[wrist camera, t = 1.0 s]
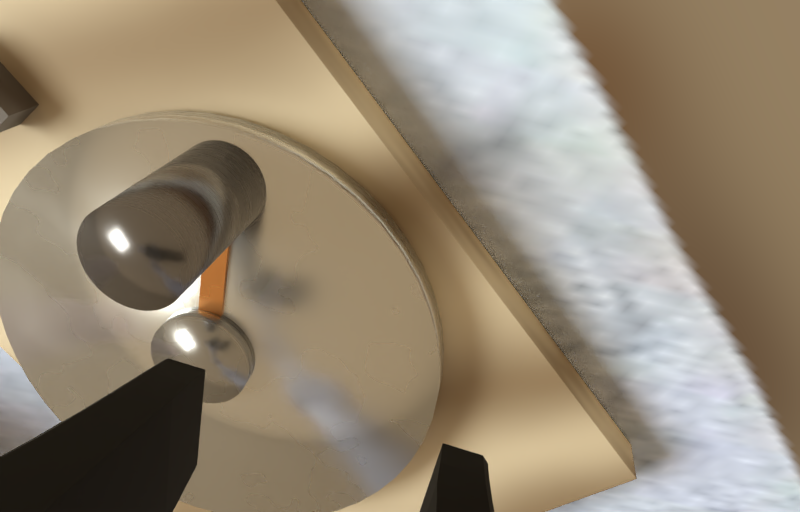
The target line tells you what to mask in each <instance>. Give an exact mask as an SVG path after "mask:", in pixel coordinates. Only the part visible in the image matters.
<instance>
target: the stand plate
mask: <svg viewBox="0 0 800 512" xmlns="http://www.w3.org/2000/svg"><path fill="white" fill-rule="evenodd" d="M176 110H180V111H194V112H207V113H214V114H219V115H223V116H228V117H233V118H238V119H242V120H246V121H249V122H252V123H254V124H257V125H260V126H263V127H266V128H269V129H272V130H275V131H277V132H279V133H281V134H283V135H285V136H287V137H289V138H291V139H293V140H295V141H298V142H300V143H302V144H304V145H306V146H308V147H309V148H311V149H312V150H314V151H316V152H317V153H319V154H320V155H322V156H323V157H325V158H326V159H328V160H329V161H331V162H333V163H334V164H336V165H337V166H338V167H340V168H341V169H342V170H343V171H345V172H346V173H347V174H348V175H349V176H351V177H352V178H353V179H354V180H355V181H357V182H358V183H359V184H360V185H361V186H363V187H364V188H365V189H366V190H367V191H368V192H369V193H370V194H371V195H372V196H373V197H374V198H375V199H376V201H377V202H378V203H379V204H380V205H381V206H382V207H383V208H384V209H385V210H386V211H387V212H388V213H389V215H390V216H391V217H392V219H393V220H394V221H395V223H396V224H397V225H398V227H399V228H400V229H401V231H402V232H403V233H404V235H405V236H406V237H407V239H408V240H409V242H410V244H411V245H412V247H413V249H414V251H415V253H416V254H417V256H418V258H419V260H420V261H421V263H422V265H423V267H424V269H425V272H426V274H427V276H428V279H429V281H430V284H431V286H432V289H433V291H434V294H435V297H436V301H437V305H438V309H439V313H440V317H441V321H442V330H443V341H444V362H443V375H442V380H441V384H440V389H439V393H438V397H437V402H436V406H435V411H434V415H433V419H432V422H431V424H430V427H429V429H428V431H427V434H426V436H425V439H424V441H423V443H422V444H421V446H420V447H419V449H418V450H417V452H416V454H415V455H414V457H413V458H412V460H411V461H410V462H409V463H408V464H407V465H406V467H405V468H404V469H403V470H402V471H401V472H400V473H399V474H398V475H397V477H395V478H394V479H393V480H392V481H390V482H389V483H388V484H387V485H385V486H384V487H383V488H382V489H380V490H379V491H378V492H376V493H374V494H372V495H371V496H369V497H367V498H365V499H364V500H362V501H360V502H358V503H355V504H353V505H350V506H348V507H345V508H343V509H340V510H338V511H334V512H420V509H421V506H422V503H423V500H424V497H425V494H426V491H427V488H428V485H429V482H430V479H431V476H432V473H433V470H434V467H435V464H436V461H437V458H438V456H439V453H440V450H441V447H442V444H443V443H444V444H448V445H451V446H454V447H457V448H461V449H464V450H467V451H470V452H474V453H477V454H480V455H483V456H484V458H485V459H486V461H487V463H488V471H489V480H490V487H491V494H492V501H493V507H494V512H545V511H548V510H551V509H554V508H556V507H559V506H562V505H565V504H568V503H570V502H573V501H576V500H579V499H582V498H584V497H587V496H590V495H593V494H595V493H598V492H601V491H604V490H607V489H609V488H612V487H615V486H618V485H621V484H623V483H626V482H629V481H632V480H634V479H636V473H635V467H634V461H633V454H632V448H631V444H630V443H629V441H628V440H627V439H626V437H625V436H624V435H623V433H622V432H621V431H620V429H619V428H618V427H617V425H616V424H615V423H614V421H613V420H612V419H611V417H610V416H609V415H608V413H607V412H606V411H605V409H604V408H603V406H602V405H601V404H600V402H599V401H598V400H597V398H596V397H595V396H594V394H593V393H592V392H591V390H590V389H589V388H588V386H587V385H586V384H585V382H584V381H583V380H582V378H581V377H580V376H579V374H578V373H577V371H576V370H575V369H574V367H573V366H572V365H571V363H570V362H569V361H568V359H567V358H566V357H565V355H564V354H563V353H562V351H561V350H560V349H559V347H558V346H557V345H556V343H555V342H554V341H553V339H552V338H551V336H550V335H549V334H548V332H547V331H546V330H545V328H544V327H543V326H542V324H541V323H540V322H539V320H538V319H537V318H536V316H535V315H534V314H533V312H532V311H531V310H530V308H529V307H528V306H527V304H526V303H525V301H524V300H523V299H522V297H521V296H520V295H519V293H518V292H517V291H516V289H515V288H514V287H513V285H512V284H511V283H510V281H509V280H508V279H507V277H506V276H505V275H504V273H503V272H502V271H501V269H500V268H499V266H498V265H497V264H496V262H495V261H494V260H493V258H492V257H491V256H490V254H489V253H488V252H487V250H486V249H485V248H484V246H483V245H482V244H481V242H480V241H479V240H478V238H477V237H476V236H475V234H474V233H473V231H472V230H471V229H470V227H469V226H468V225H467V223H466V222H465V221H464V219H463V218H462V217H461V215H460V214H459V213H458V211H457V210H456V209H455V207H454V206H453V205H452V203H451V202H450V201H449V199H448V198H447V196H446V195H445V194H444V192H443V191H442V190H441V188H440V187H439V186H438V184H437V183H436V182H435V180H434V179H433V178H432V176H431V175H430V174H429V172H428V171H427V170H426V168H425V167H424V166H423V164H422V163H421V161H420V160H419V159H418V157H417V156H416V155H415V153H414V152H413V151H412V149H411V148H410V147H409V145H408V144H407V143H406V141H405V140H404V139H403V137H402V136H401V135H400V133H399V132H398V131H397V129H396V128H395V126H394V125H393V124H392V122H391V121H390V120H389V118H388V117H387V116H386V114H385V113H384V112H383V110H382V109H381V108H380V106H379V105H378V104H377V102H376V101H375V100H374V98H373V97H372V96H371V94H370V93H369V91H368V90H367V89H366V87H365V86H364V85H363V83H362V82H361V81H360V79H359V78H358V77H357V75H356V74H355V73H354V71H353V70H352V69H351V67H350V66H349V65H348V63H347V62H346V61H345V59H344V58H343V56H342V55H341V54H340V52H339V51H338V50H337V48H336V47H335V46H334V44H333V43H332V42H331V40H330V39H329V38H328V36H327V35H326V34H325V32H324V31H323V30H322V28H321V27H320V26H319V24H318V23H317V21H316V20H315V19H314V17H313V16H312V15H311V13H310V12H309V11H308V9H307V8H306V7H305V5H304V4H303V3H302V1H301V0H0V222H1V218H2V215H3V212H4V210H5V208H6V206H7V204H8V202H9V200H10V198H11V196H12V194H13V192H14V190H15V189H16V188H17V186H18V185H19V184H20V182H21V181H22V180H23V178H24V177H25V176H26V174H27V173H28V172H29V171H30V170H31V169H32V168H33V167H34V166H35V165H36V164H37V163H38V162H40V161H41V160H42V159H43V158H44V157H45V156H46V155H47V154H48V153H50V152H52V151H53V150H55V149H57V148H58V147H60V146H61V145H63V144H65V143H66V142H68V141H69V140H71V139H73V138H75V137H78V136H80V135H82V134H84V133H86V132H88V131H90V130H93V129H95V128H97V127H100V126H102V125H105V124H107V123H110V122H112V121H115V120H117V119H120V118H125V117H129V116H134V115H138V114H143V113H147V112H161V111H176ZM0 347H1V348H3V349H4V350H5V351H6V352H7V353H8V354H9V355H10V356H11V357H12V358H13V359H14V360H15V361H16V362H17V363H18V364H19V365H20V363H19V361H18V360H17V358H16V356H15V353H14V351H13V349H12V347H11V344H10V342H9V340H8V337H7V335H6V332H5V329H4V326H3V323H2V319H1V316H0ZM20 366H21V365H20ZM173 512H213V511H209V510H206V509H202V508H198V507H195V506H192V505H189V504H187V503H184V502H181V501H178V503H177V505H176V507H175V508H174V510H173Z"/></svg>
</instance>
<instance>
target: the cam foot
mask: <svg viewBox="0 0 800 512" xmlns="http://www.w3.org/2000/svg"><path fill="white" fill-rule="evenodd" d="M0 316H1V319H2V323H3V326H4V329H5V332H6V335H7V337H8V340H9V342H10V344H11V347H12V349H13V351H14V353H15V356H16V358H17V360H18V361H19V363H20V365H21V367H22V368H23V370H24V372H25V374H26V375H27V377H28V379H29V381H30V382H31V384H32V385H33V386H34V388H35V389H36V391H37V392H38V393H39V395H40V396H41V398H42V399H43V400H44V402H45V403H46V404H47V405H48V407H49V408H50V409H51V410H52V411H53V412H54V414H55V415H56V416H57V417H58V418H59V419H60V421H61V422H63V421H64V420H66V419H68V418H69V417H71V416H73V415H75V414H76V413H78V412H80V411H81V410H83V409H85V408H86V407H88V406H90V405H91V404H93V403H95V402H96V401H98V400H99V399H101V398H103V397H104V396H106V395H108V394H109V393H111V392H113V391H114V390H116V389H117V388H119V387H121V386H122V385H124V384H125V383H127V382H129V381H130V380H132V379H134V378H135V377H137V376H138V375H140V374H142V373H143V372H145V371H146V370H148V369H150V368H151V367H153V366H155V365H156V364H158V363H160V362H161V361H163V360H165V359H167V358H169V359H172V360H176V361H179V362H182V363H185V364H189V365H192V366H195V367H198V368H202V369H205V381H204V392H203V404H202V415H201V426H200V438H199V449H198V460H197V466H196V468H195V470H194V472H193V474H192V476H191V478H190V480H189V482H188V484H187V486H186V487H185V489H184V491H183V493H182V495H181V497H180V499H179V501H181V502H184V503H187V504H189V505H192V506H195V507H198V508H202V509H206V510H209V511H213V512H334V511H338V510H340V509H343V508H345V507H348V506H350V505H353V504H355V503H358V502H360V501H362V500H364V499H365V498H367V497H369V496H371V495H372V494H374V493H376V492H378V491H379V490H380V489H382V488H383V487H384V486H385V485H387V484H388V483H389V482H390V481H392V480H393V479H394V478H395V477H397V475H398V474H399V473H400V472H401V471H402V470H403V469H404V468H405V467H406V465H407V464H408V463H409V462H410V461H411V460H412V458H413V457H414V455H415V454H416V452H417V450H418V449H419V447H420V446H421V444H422V443H423V441H424V439H425V436H426V434H427V431H428V429H429V427H430V424H431V422H432V419H433V415H434V411H435V406H436V402H437V397H438V393H439V389H440V384H441V380H442V375H443V362H444V341H443V330H442V321H441V317H440V313H439V309H438V305H437V301H436V297H435V294H434V291H433V289H432V286H431V284H430V281H429V279H428V276H427V274H426V272H425V269H424V267H423V265H422V263H421V261H420V260H419V258H418V256H417V254H416V253H415V251H414V249H413V247H412V245H411V244H410V242H409V240H408V239H407V237H406V236H405V235H404V233H403V232H402V231H401V229H400V228H399V227H398V225H397V224H396V223H395V221H394V220H393V219H392V217H391V216H390V215H389V213H388V212H387V211H386V210H385V209H384V208H383V207H382V206H381V205H380V204H379V203H378V202H377V201H376V199H375V198H374V197H373V196H372V195H371V194H370V193H369V192H368V191H367V190H366V189H365V188H364V187H363V186H361V185H360V184H359V183H358V182H357V181H355V180H354V179H353V178H352V177H351V176H349V175H348V174H347V173H346V172H345V171H343V170H342V169H341V168H340V167H338V166H337V165H336V164H334V163H333V162H331V161H329V160H328V159H326V158H325V157H323V156H322V155H320V154H319V153H317V152H316V151H314V150H312V149H311V148H309V147H308V146H306V145H304V144H302V143H300V142H298V141H295V140H293V139H291V138H289V137H287V136H285V135H283V134H281V133H279V132H277V131H275V130H272V129H269V128H266V127H263V126H260V125H257V124H254V123H252V122H249V121H246V120H242V119H238V118H233V117H228V116H223V115H219V114H214V113H207V112H194V111H180V110H176V111H161V112H147V113H143V114H138V115H134V116H129V117H125V118H120V119H117V120H115V121H112V122H110V123H107V124H105V125H102V126H100V127H97V128H95V129H93V130H90V131H88V132H86V133H84V134H82V135H80V136H78V137H75V138H73V139H71V140H69V141H68V142H66V143H65V144H63V145H61V146H60V147H58V148H57V149H55V150H53V151H52V152H50V153H48V154H47V155H46V156H45V157H44V158H43V159H42V160H41V161H40V162H38V163H37V164H36V165H35V166H34V167H33V168H32V169H31V170H30V171H29V172H28V173H27V174H26V176H25V177H24V178H23V180H22V181H21V182H20V184H19V185H18V186H17V188H16V189H15V190H14V192H13V194H12V196H11V198H10V200H9V202H8V204H7V206H6V208H5V210H4V212H3V215H2V218H1V222H0Z"/></svg>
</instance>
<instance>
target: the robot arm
mask: <svg viewBox="0 0 800 512" xmlns="http://www.w3.org/2000/svg"><path fill="white" fill-rule="evenodd" d="M204 381H205V369H202V368H198V367H195V366H192V365H189V364H185V363H182V362H179V361H176V360H172V359H169V358H167V359H165V360H163V361H161V362H160V363H158V364H156V365H155V366H153V367H151V368H150V369H148V370H146V371H145V372H143V373H142V374H140V375H138V376H137V377H135V378H134V379H132V380H130V381H129V382H127V383H125V384H124V385H122V386H121V387H119V388H117V389H116V390H114V391H113V392H111V393H109V394H108V395H106V396H104V397H103V398H101V399H99V400H98V401H96V402H95V403H93V404H91V405H90V406H88V407H86V408H85V409H83V410H81V411H80V412H78V413H76V414H75V415H73V416H71V417H69V418H68V419H66V420H64V421H63V422H61V423H59V424H57V425H56V426H54V427H52V428H51V429H49V430H47V431H45V432H44V433H42V434H40V435H39V436H37V437H35V438H33V439H32V440H30V441H28V442H26V443H24V444H23V445H21V446H19V447H17V448H15V449H14V450H12V451H10V452H8V453H6V454H4V455H2V456H0V512H173V510H174V508H175V507H176V505H177V503H178V501H179V499H180V497H181V495H182V493H183V491H184V489H185V487H186V486H187V484H188V482H189V480H190V478H191V476H192V474H193V472H194V470H195V468H196V466H197V460H198V449H199V438H200V426H201V415H202V404H203V392H204ZM420 512H494V507H493V501H492V494H491V487H490V480H489V471H488V463H487V461H486V459H485V458H484V456H483V455H480V454H477V453H474V452H470V451H467V450H464V449H461V448H457V447H454V446H451V445H448V444H444V443H443V444H442V447H441V450H440V453H439V456H438V458H437V461H436V464H435V467H434V470H433V473H432V476H431V479H430V482H429V485H428V488H427V491H426V494H425V497H424V500H423V503H422V506H421V509H420Z"/></svg>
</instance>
